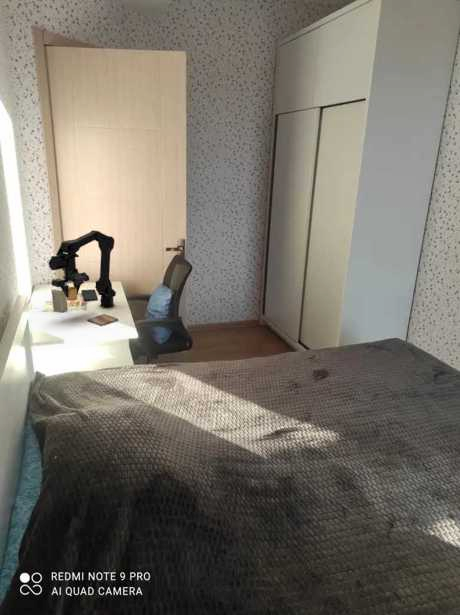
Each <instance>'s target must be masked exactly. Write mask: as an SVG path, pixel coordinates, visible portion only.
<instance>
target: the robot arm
mask: <svg viewBox="0 0 460 615" xmlns="http://www.w3.org/2000/svg"><path fill="white" fill-rule="evenodd" d="M94 241H96V242H97V244H98V245H97V246H98V248H99V251H100V268H99V270H100V271H99V279H98V280H95V286H94V288H95V291H96V293H97V295H98V296H100V300H99V301H100V304H99V307H102V308H105V309H109V308H113V307H116V304H114V297H116V295H117V292H116V291H115V290H114V289H113V286H112V284H113V283H112V281H111V280H110V272H111V270H110V269H111V268H110V267H111V266H110V265H111V252H112V251H113V249H114V246H115V238H114V237H113V236H110V235H107V234H105V233H103V232H101V231H100V230H94V229H93V230H90V232H88V233H85V234H84V235H81V236H79V237H78V238H75V239H69V240H63V241H62V242H61V243H60V246H59V248H58V250H57V252H56V255H55V256H54V255H51V256H50V259H49V261H48V267H49V268H50V270H52V271H58V270H62V271H63V274H64V276H62V278H63V279H61V278H55V279H52V280H51V282H50V283H51V286H53V287H55V288H61V289H62V290H63V292H64V294H65V296H66V297H67V298H68V287H70V285H69V283H72V284H73V285H72V286H73V287H76V288H77V296H78V295H79V291H80V288H81V286H82V285H83V284H84V283H85V282H89V281H90V276H89V275H88V274H87V273H86V272H79V269H78V268H77V263H76V258H79V257H80V256H79V254H77V252H79V251H80V249H81V248H82V247H84V246H86V245H88V244H90V243H92V242H94Z"/></svg>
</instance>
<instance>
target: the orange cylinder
mask: <svg viewBox="0 0 460 615" xmlns="http://www.w3.org/2000/svg"><path fill="white" fill-rule="evenodd" d="M77 300H78V295H77V288H76V287H74V286H69V287H68V298H67V302H73V301H77Z"/></svg>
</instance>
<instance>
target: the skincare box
mask: <svg viewBox="0 0 460 615" xmlns="http://www.w3.org/2000/svg"><path fill="white" fill-rule="evenodd" d="M51 299H52V306H53V307H52V308H53V312H57V313H58V312H60V313H64V312H67V311H68V300H67V297H66V296H65V294H64V292H63V290H62V289H61V287H54V288H52V289H51Z"/></svg>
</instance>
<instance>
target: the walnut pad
mask: <svg viewBox="0 0 460 615" xmlns="http://www.w3.org/2000/svg"><path fill="white" fill-rule="evenodd" d="M86 320H87V322H89V323H92V324H94V325H97V326H99V327H104V326H106V325H110V324H113V323H115V322H119V318H117V317H115V316H111V315H109V314H105V313H103V314H100V315H96V316H93V317H90V318H87V319H86ZM103 325H104V326H103Z"/></svg>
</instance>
